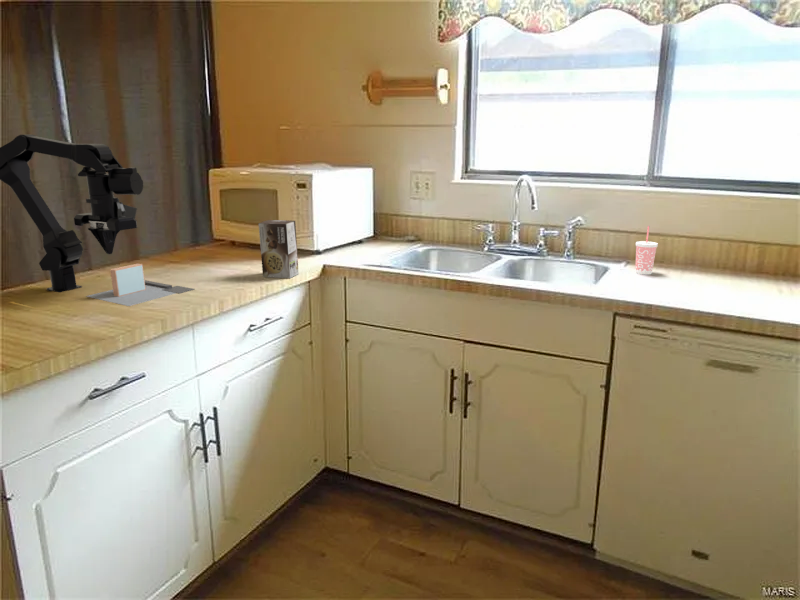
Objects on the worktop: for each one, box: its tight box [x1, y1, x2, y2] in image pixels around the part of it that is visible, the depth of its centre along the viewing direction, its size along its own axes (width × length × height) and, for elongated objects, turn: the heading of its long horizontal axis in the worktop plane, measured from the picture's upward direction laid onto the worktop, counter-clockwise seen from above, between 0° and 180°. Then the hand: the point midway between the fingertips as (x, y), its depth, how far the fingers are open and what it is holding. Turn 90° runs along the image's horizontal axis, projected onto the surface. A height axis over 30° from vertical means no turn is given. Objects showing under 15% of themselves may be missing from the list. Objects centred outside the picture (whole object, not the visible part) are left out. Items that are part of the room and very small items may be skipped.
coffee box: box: [257, 219, 299, 279], centre depth 173 cm, size 9×6×16 cm
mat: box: [85, 284, 177, 307], centre depth 155 cm, size 18×16×1 cm
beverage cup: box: [634, 225, 659, 275], centre depth 174 cm, size 6×6×14 cm
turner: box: [144, 279, 195, 295], centre depth 161 cm, size 19×5×1 cm, turn 59°
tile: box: [109, 263, 146, 297], centre depth 155 cm, size 2×8×7 cm, turn 149°
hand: (109, 253), depth 156 cm, fingers closed
